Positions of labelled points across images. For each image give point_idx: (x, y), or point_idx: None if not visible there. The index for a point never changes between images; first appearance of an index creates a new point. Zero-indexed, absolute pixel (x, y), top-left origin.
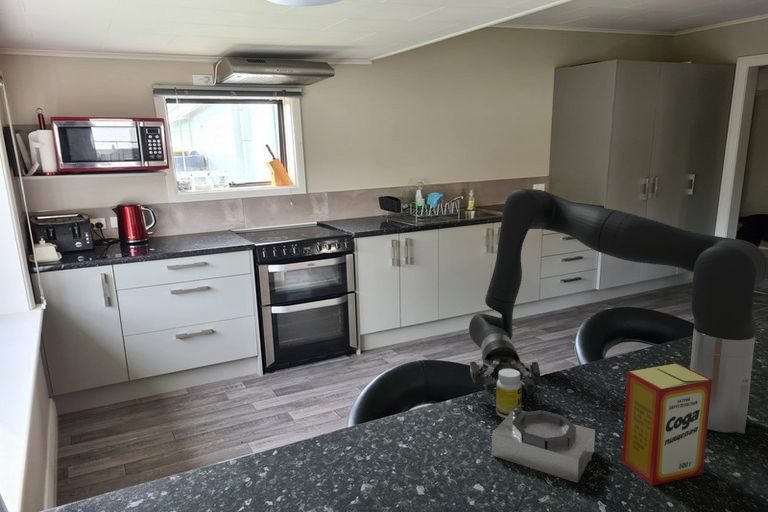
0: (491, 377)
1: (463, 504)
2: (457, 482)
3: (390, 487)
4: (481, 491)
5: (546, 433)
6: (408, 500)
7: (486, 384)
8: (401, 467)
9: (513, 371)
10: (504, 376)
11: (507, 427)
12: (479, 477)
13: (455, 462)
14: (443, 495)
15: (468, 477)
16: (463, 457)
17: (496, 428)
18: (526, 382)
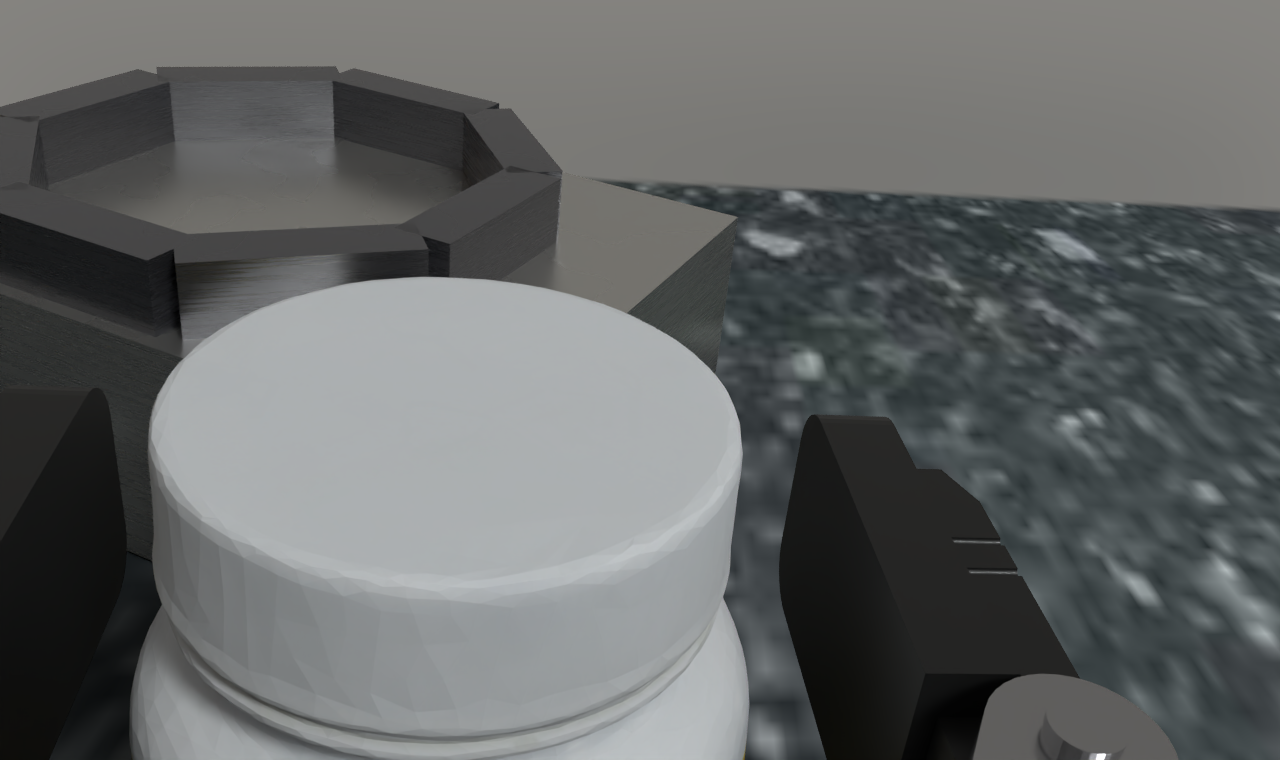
0: (906, 600)
1: (829, 192)
2: (894, 263)
3: (1219, 257)
4: (754, 226)
5: (260, 195)
6: (1085, 214)
7: (955, 486)
8: (1271, 339)
9: (316, 439)
10: (605, 310)
11: (597, 253)
12: (777, 279)
13: (958, 358)
14: (938, 221)
15: (841, 281)
16: (918, 388)
17: (700, 250)
18: (45, 523)
